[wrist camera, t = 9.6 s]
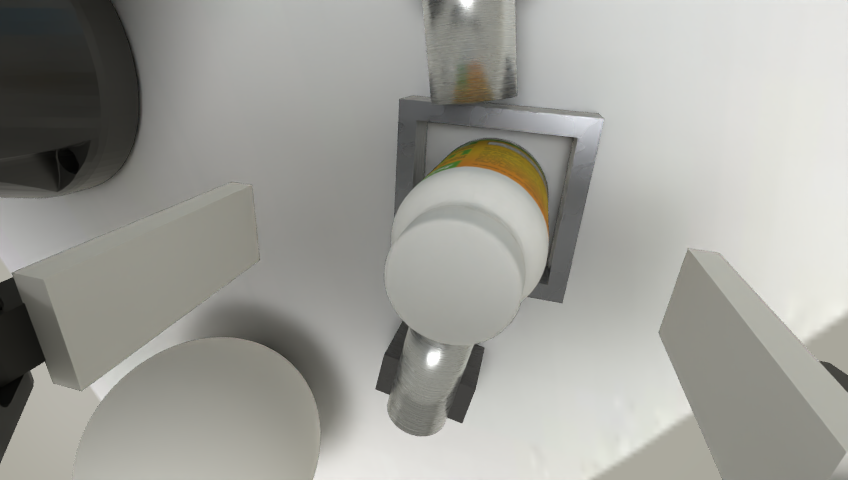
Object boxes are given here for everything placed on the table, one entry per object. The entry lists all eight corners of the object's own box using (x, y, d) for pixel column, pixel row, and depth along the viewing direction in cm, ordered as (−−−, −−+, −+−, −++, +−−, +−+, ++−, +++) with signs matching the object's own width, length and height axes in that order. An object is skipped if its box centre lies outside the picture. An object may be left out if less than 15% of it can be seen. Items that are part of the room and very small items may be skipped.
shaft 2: (420, 257, 23) (391, 302, 19) (507, 287, 22) (498, 340, 18) (393, 356, 26) (363, 415, 22) (469, 385, 25) (454, 452, 21)
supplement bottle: (474, 112, 19) (417, 151, 11) (573, 179, 19) (595, 272, 11) (415, 205, 22) (330, 298, 13) (503, 264, 22) (475, 397, 13)
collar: (403, 255, 23) (391, 271, 21) (412, 95, 20) (399, 98, 18) (560, 283, 21) (562, 303, 20) (598, 113, 18) (604, 118, 16)
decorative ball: (193, 404, 33) (21, 571, 22) (198, 273, 27) (-24, 407, 17) (336, 468, 31) (226, 680, 20) (369, 342, 26) (246, 537, 15)
